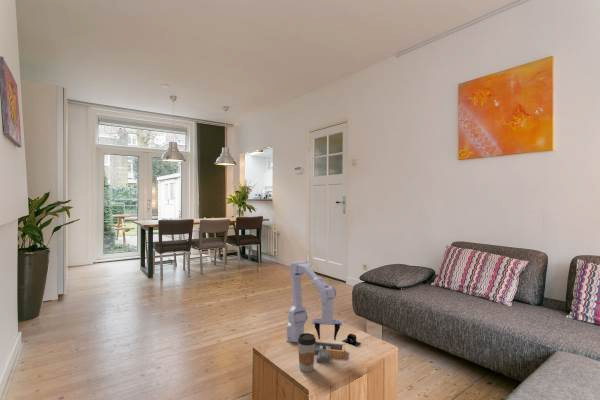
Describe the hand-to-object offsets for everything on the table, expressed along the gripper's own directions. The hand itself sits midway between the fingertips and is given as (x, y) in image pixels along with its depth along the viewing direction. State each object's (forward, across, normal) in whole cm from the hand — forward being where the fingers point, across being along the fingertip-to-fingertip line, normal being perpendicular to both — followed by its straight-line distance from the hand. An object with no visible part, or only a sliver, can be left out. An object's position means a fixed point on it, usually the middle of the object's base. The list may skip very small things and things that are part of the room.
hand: (327, 339), depth 157 cm
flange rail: (+10, 0, +6) cm, 11 cm away
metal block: (+8, -1, -2) cm, 8 cm away
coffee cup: (+10, -10, -11) cm, 17 cm away
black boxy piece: (+10, +14, +19) cm, 26 cm away
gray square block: (+10, -1, -2) cm, 10 cm away
